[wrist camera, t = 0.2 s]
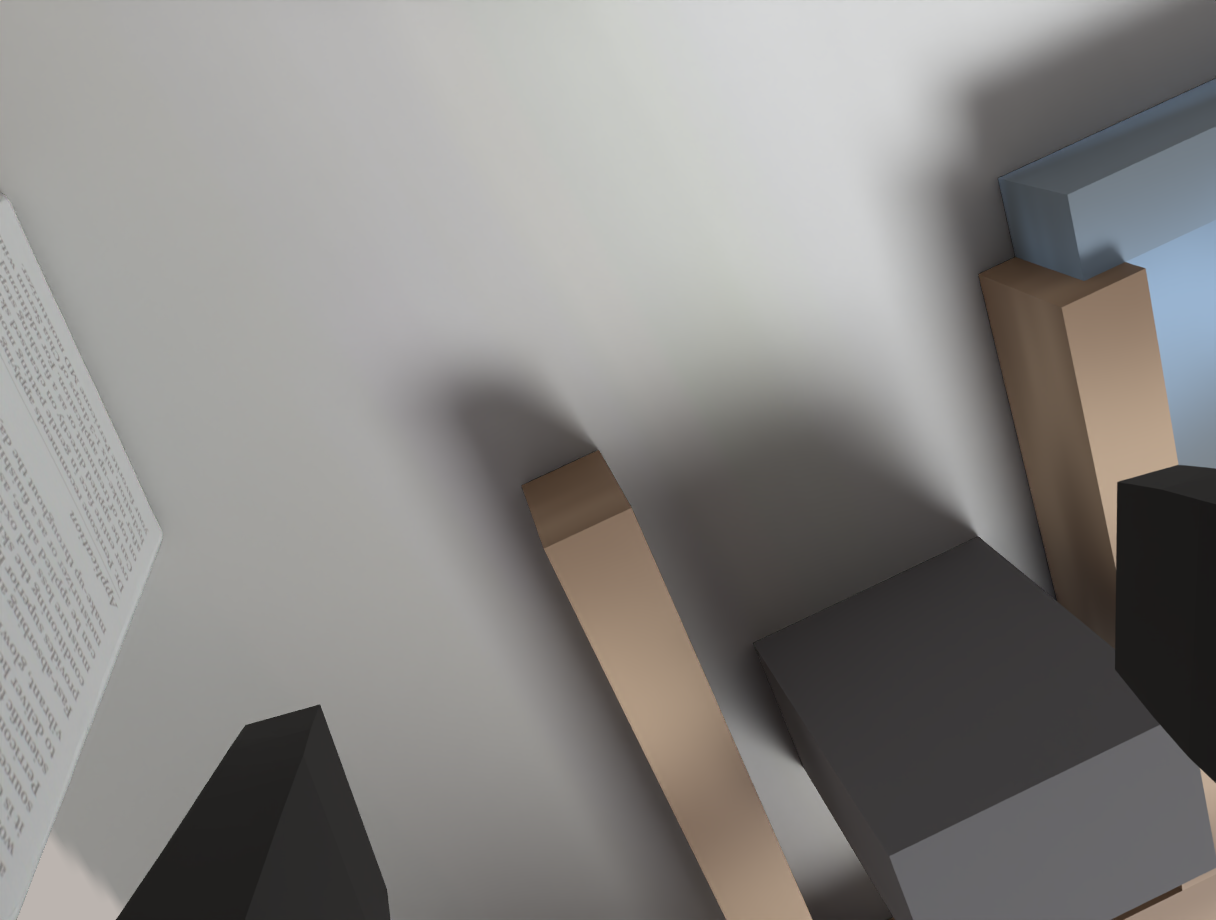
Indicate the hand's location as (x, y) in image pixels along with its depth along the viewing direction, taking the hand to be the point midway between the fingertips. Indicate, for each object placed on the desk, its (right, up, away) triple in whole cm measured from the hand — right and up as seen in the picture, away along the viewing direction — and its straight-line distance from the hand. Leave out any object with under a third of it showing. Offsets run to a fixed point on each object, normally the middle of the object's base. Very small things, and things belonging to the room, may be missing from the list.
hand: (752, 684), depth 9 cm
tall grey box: (+5, -2, +13) cm, 14 cm away
